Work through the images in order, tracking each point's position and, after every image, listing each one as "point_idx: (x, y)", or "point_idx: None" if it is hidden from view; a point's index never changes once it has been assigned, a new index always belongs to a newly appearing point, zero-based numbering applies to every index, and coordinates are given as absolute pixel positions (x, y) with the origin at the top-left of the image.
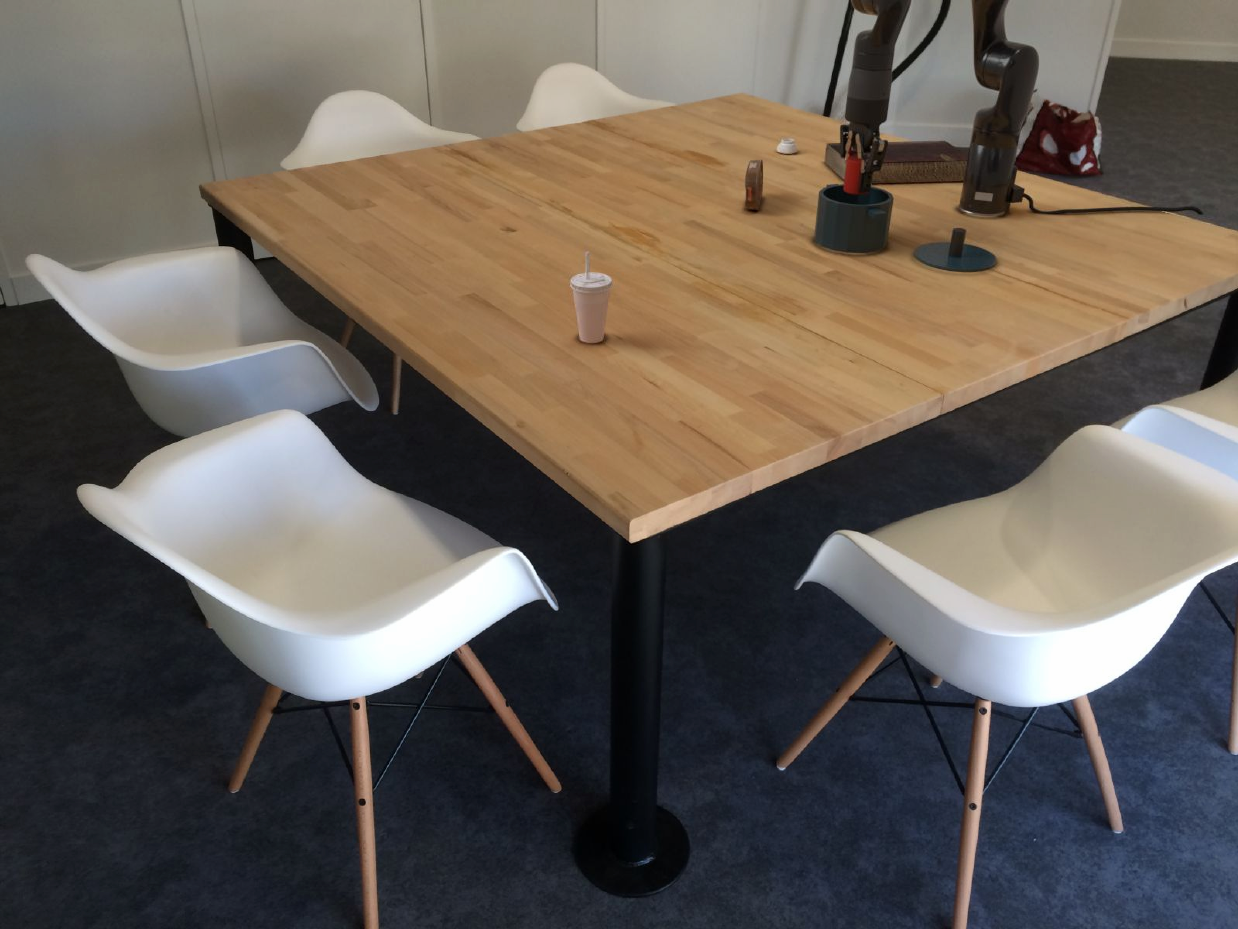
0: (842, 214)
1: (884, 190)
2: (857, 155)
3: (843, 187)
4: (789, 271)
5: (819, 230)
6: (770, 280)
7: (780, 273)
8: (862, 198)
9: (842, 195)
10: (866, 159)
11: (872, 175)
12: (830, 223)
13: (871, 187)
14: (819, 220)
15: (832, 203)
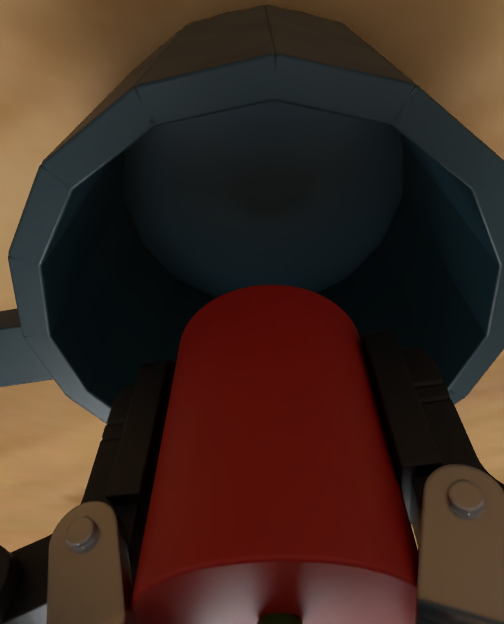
0: None
1: (166, 97)
2: (151, 616)
3: (64, 340)
4: (461, 406)
5: None
6: (497, 445)
7: (465, 423)
8: (84, 193)
9: (81, 307)
10: (330, 598)
11: (473, 450)
12: None
13: (76, 188)
14: None
15: None
